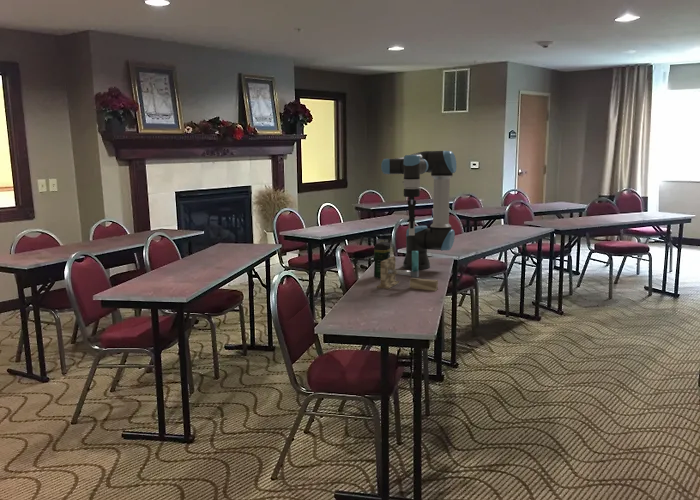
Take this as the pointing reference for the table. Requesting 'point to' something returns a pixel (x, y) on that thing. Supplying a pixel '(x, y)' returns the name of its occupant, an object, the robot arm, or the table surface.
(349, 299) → the table surface
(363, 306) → the table surface
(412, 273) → the teal handled tool
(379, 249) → the coffee jar
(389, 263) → the tan wooden block
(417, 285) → the tan wooden bar
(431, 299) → the table surface
